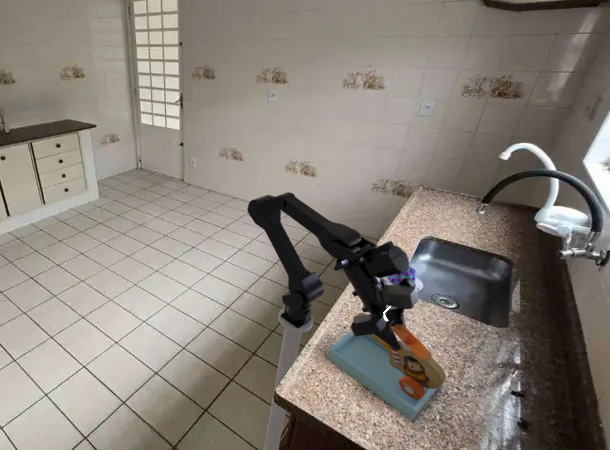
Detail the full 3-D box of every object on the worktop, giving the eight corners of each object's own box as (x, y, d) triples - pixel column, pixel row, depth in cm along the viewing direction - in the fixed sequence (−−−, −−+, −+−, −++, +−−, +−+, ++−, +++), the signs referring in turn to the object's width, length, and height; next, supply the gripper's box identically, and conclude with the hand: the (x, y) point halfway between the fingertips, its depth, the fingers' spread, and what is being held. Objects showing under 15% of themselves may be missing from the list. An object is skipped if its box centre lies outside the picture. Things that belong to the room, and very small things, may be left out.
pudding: (398, 267, 123) (402, 255, 120) (430, 287, 113) (436, 274, 110) (372, 275, 119) (376, 263, 116) (404, 297, 109) (409, 283, 106)
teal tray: (326, 357, 89) (328, 349, 87) (357, 332, 96) (360, 323, 95) (412, 420, 74) (416, 411, 72) (441, 384, 81) (445, 375, 80)
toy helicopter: (421, 408, 75) (440, 382, 65) (340, 337, 89) (347, 308, 80) (445, 384, 77) (467, 356, 68) (362, 319, 91) (371, 288, 82)
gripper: (380, 291, 68) (424, 366, 66) (415, 256, 78) (454, 319, 76) (333, 302, 77) (371, 368, 75) (371, 269, 87) (405, 326, 85)
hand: (402, 344), depth 78 cm, fingers closed on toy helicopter, 4 cm apart
